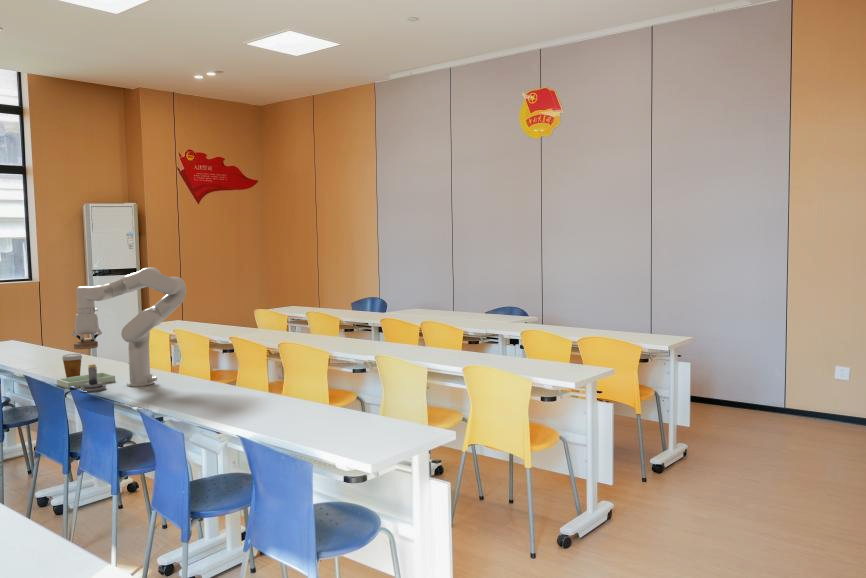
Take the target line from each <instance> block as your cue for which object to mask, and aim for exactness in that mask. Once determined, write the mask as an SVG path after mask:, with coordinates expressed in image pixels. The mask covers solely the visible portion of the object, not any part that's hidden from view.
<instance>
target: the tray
mask: <svg viewBox="0 0 866 578" xmlns="http://www.w3.org/2000/svg"><path fill="white" fill-rule="evenodd" d="M97 382H102V383H105V384H111V383H115V382H116V375H114V374H111V373H107V372H103V371H102V372H97ZM86 383H89V374H83V375H80V376H75V377H69V378H66V377H64V378H57V379H56V385H57V386H58V387H60V388H64V389H66V390H71V389H70V386H74V387H77V388H76V389H79V388H80V389H81V387H84V384H86Z"/></svg>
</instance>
